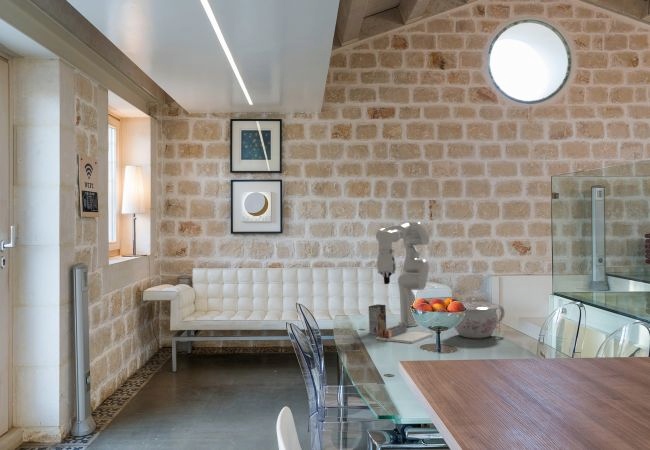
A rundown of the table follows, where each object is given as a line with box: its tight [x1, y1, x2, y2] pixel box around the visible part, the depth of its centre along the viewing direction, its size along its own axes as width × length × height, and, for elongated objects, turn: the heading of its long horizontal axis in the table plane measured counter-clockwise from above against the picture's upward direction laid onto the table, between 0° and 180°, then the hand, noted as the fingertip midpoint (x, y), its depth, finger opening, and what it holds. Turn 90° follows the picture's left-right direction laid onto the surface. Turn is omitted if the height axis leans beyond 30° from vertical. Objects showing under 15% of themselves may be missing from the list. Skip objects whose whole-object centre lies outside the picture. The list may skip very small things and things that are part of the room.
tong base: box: [378, 322, 408, 338], centre depth 305 cm, size 22×5×5 cm, turn 142°
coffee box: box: [368, 304, 387, 336], centre depth 317 cm, size 9×6×16 cm
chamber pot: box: [453, 298, 506, 340], centre depth 299 cm, size 28×28×21 cm
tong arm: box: [384, 325, 405, 338], centre depth 302 cm, size 19×3×4 cm, turn 144°
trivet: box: [376, 330, 434, 344], centre depth 302 cm, size 24×22×1 cm
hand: (386, 283), depth 314 cm, fingers closed
